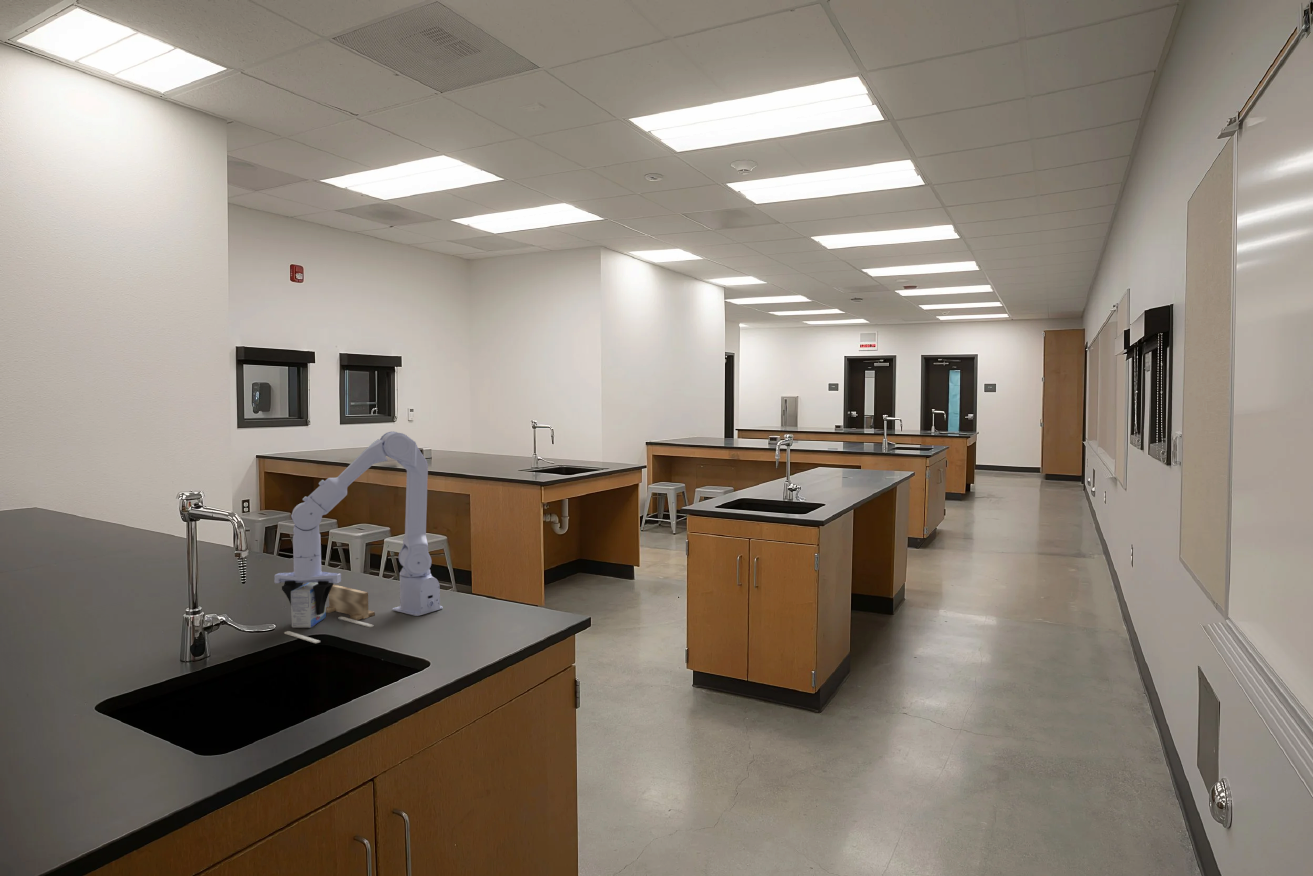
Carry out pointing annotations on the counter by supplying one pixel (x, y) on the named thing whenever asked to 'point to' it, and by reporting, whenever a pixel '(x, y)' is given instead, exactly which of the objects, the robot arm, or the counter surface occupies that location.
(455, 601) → the counter surface
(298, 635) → the tape marks
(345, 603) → the wooden board with feet
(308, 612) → the medicine box
